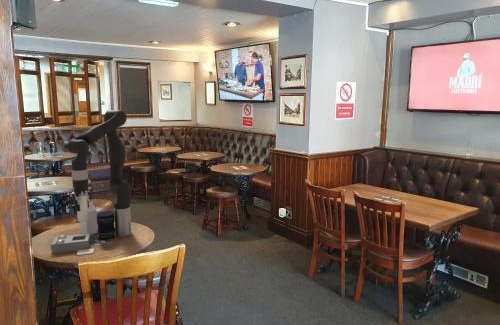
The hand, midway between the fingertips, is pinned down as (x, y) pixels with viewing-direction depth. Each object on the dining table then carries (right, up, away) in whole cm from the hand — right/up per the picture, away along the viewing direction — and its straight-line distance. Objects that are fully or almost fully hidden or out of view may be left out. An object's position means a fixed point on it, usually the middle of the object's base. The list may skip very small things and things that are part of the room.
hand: (82, 209), depth 190 cm
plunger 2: (-14, -23, +6) cm, 28 cm away
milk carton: (-11, -19, +32) cm, 39 cm away
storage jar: (+3, -20, +25) cm, 33 cm away
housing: (-11, -22, +11) cm, 27 cm away
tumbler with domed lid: (0, -6, +1) cm, 6 cm away
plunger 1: (-17, -22, +12) cm, 30 cm away
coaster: (0, -24, +4) cm, 24 cm away
